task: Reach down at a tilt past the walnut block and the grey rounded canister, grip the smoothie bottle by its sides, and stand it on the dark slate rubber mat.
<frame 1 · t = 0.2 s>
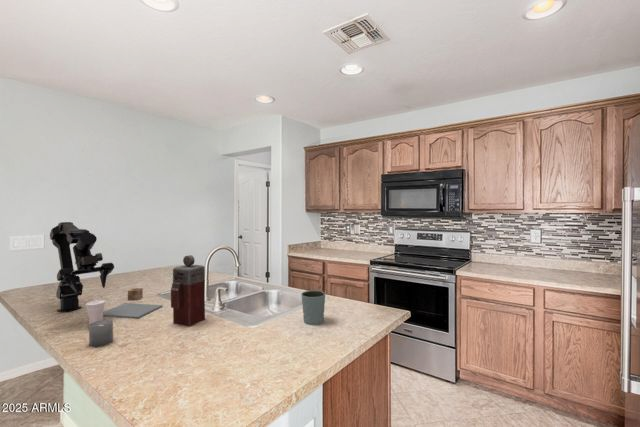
hand: (91, 289, 129), 14 cm above the countertop, tool tilted 35°, fingers open, 9 cm apart
slate mat: (131, 311, 145), on the countertop
walnut block: (135, 299, 164), on the countertop
grey rounded canister: (101, 342, 112), on the countertop
smoothie: (96, 326, 128), on the countertop
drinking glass: (313, 321, 134), on the countertop
french press: (187, 322, 132), on the countertop
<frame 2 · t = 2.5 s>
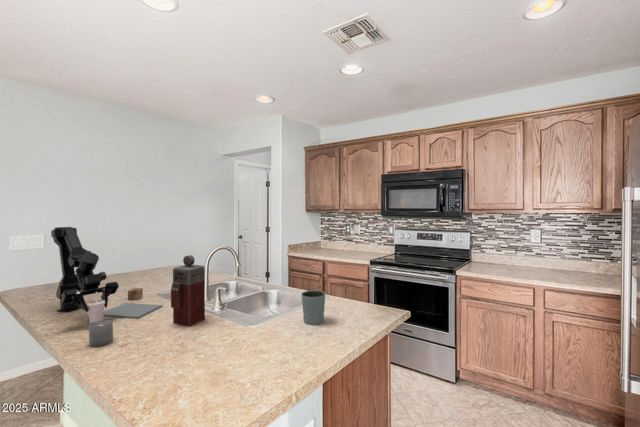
hand: (97, 309, 127), 7 cm above the countertop, tool tilted 45°, fingers closed on smoothie, 6 cm apart
smoothie: (96, 326, 128), on the countertop, touching gripper
everything else where it was.
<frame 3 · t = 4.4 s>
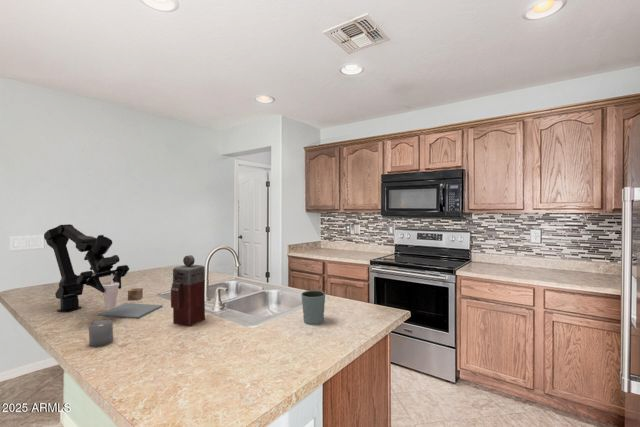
hand: (112, 290, 132), 13 cm above the countertop, tool tilted 45°, fingers closed on smoothie, 6 cm apart
smoothie: (110, 307, 133), point 6 cm above the countertop, touching gripper
everything else where it was.
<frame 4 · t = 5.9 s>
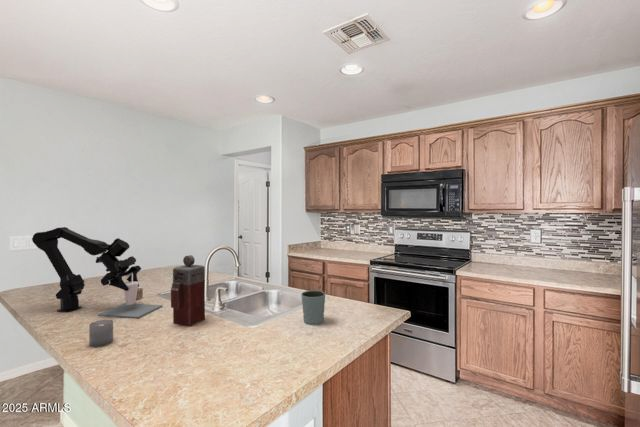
hand: (133, 288, 145), 11 cm above the countertop, tool tilted 45°, fingers closed on smoothie, 6 cm apart
smoothie: (130, 304, 145), point 3 cm above the countertop, touching gripper
everything else where it was.
when the fingers open (9 cm above the countertop, at t = 6.7 s): smoothie drops 1 cm, resting on slate mat.
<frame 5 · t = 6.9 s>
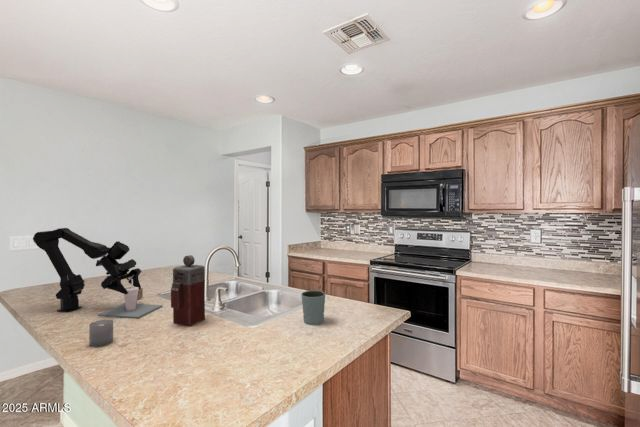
hand: (133, 291, 145), 9 cm above the countertop, tool tilted 45°, fingers open, 8 cm apart
smoothie: (131, 309, 145), point 1 cm above the countertop, touching slate mat
everything else where it was.
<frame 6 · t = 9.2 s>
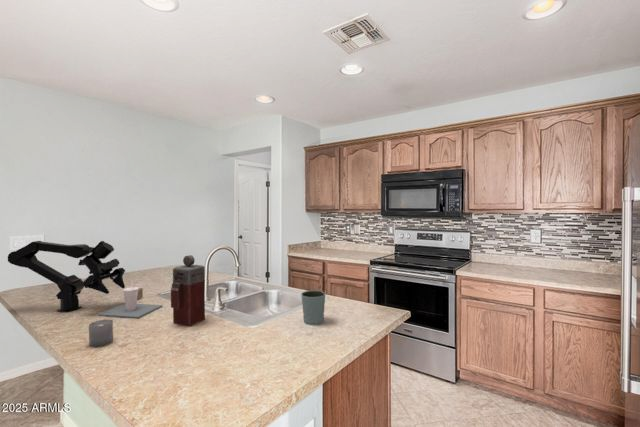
hand: (116, 290, 146), 9 cm above the countertop, tool tilted 45°, fingers open, 9 cm apart
nothing on the countertop moved.
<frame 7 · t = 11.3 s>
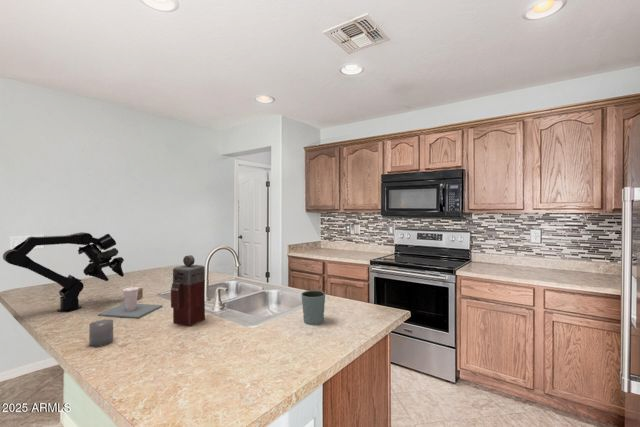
hand: (115, 278, 152), 14 cm above the countertop, tool tilted 45°, fingers open, 9 cm apart
nothing on the countertop moved.
at the end: smoothie inside the target area on the slate mat (0.1 cm from its centre), point 0.6 cm above the slate mat's base; smoothie tilted 0°; the gripper is holding nothing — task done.
